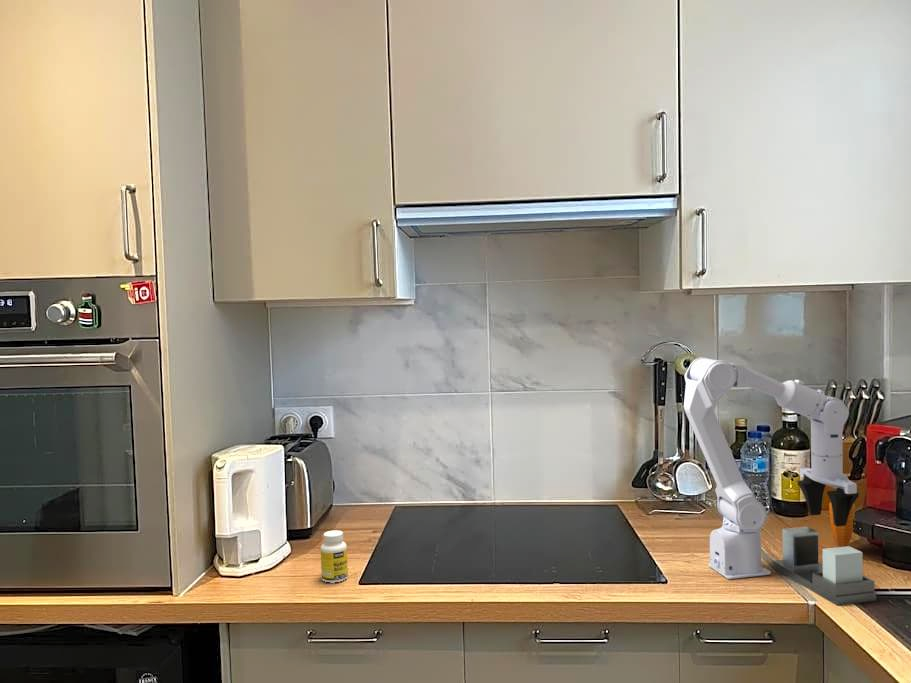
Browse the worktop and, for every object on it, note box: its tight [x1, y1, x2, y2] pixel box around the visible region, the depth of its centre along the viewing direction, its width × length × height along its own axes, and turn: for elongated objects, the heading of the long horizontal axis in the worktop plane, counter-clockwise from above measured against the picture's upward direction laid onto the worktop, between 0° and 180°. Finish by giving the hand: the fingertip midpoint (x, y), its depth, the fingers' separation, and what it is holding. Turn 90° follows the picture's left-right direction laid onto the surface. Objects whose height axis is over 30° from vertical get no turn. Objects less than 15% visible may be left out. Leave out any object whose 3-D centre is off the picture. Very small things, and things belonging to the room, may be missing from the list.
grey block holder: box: [772, 526, 877, 606], centre depth 139 cm, size 8×19×8 cm, turn 10°
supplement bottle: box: [320, 529, 349, 584], centre depth 151 cm, size 5×5×10 cm
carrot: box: [828, 488, 856, 547], centre depth 156 cm, size 5×5×15 cm
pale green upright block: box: [822, 545, 864, 584], centre depth 133 cm, size 4×6×7 cm
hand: (827, 519), depth 148 cm, fingers open, 7 cm apart
